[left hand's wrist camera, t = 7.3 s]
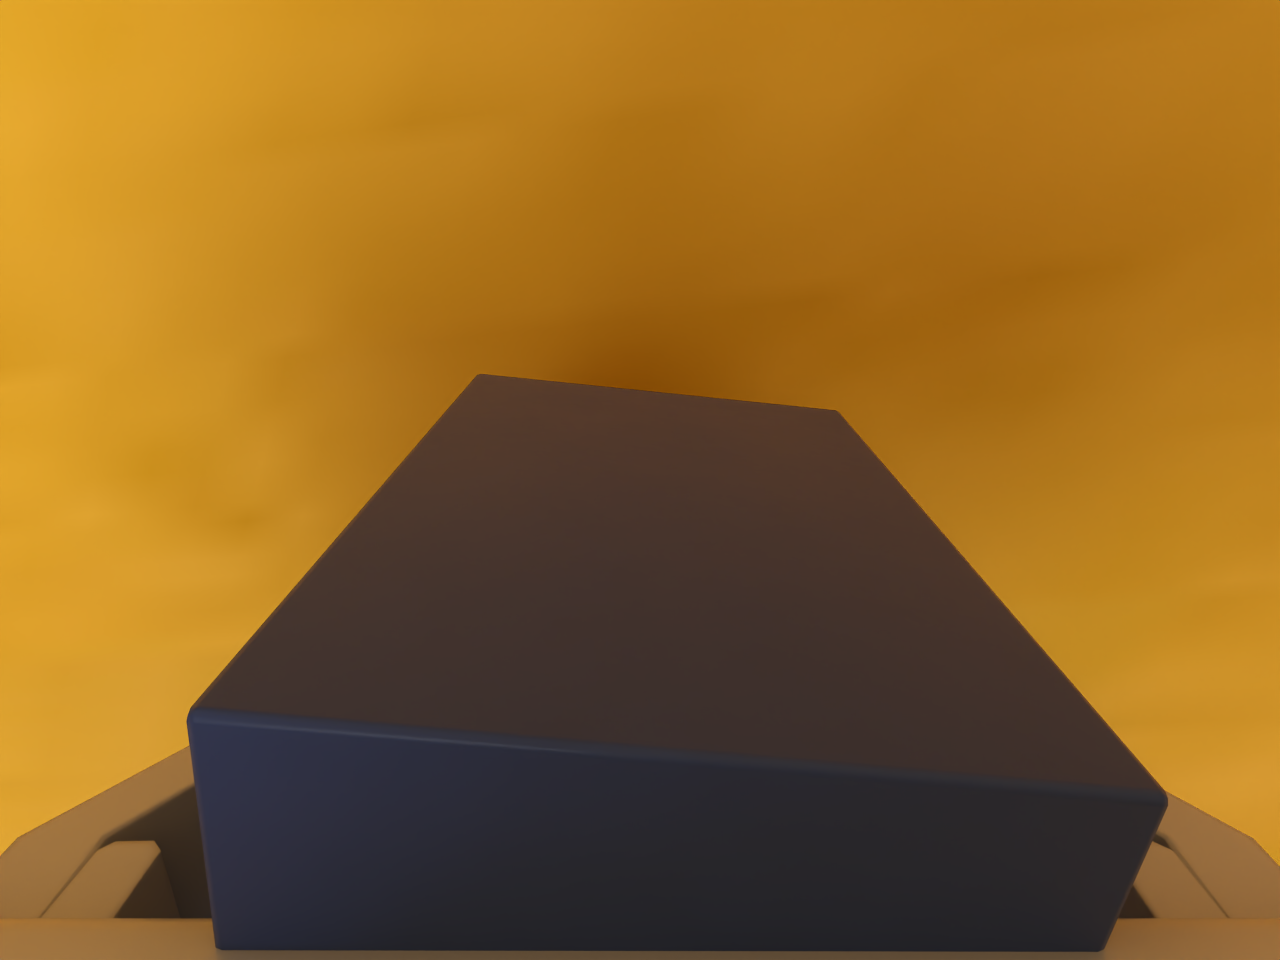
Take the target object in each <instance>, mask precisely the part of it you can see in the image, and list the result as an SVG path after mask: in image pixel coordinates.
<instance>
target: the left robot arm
mask: <svg viewBox="0 0 1280 960" xmlns="http://www.w3.org/2000/svg"><path fill="white" fill-rule="evenodd" d="M1164 791H1165V790H1164ZM1165 792H1166V791H1165ZM1166 794H1167V797H1168V807H1167V809H1166V812H1165V814H1164V816H1163V818H1162V821H1161V823H1160V825H1159V827H1158V829H1157V832H1156V834H1155V836H1154V838H1153V841H1152V843H1151V845H1150V847H1149V850H1148V852H1147V854H1146V856H1145V859H1144V861H1143V863H1142V865H1141V868H1140V870H1139V872H1138V874H1137V877H1136V879H1135V881H1134V883H1133V886H1132V888H1131V890H1130V892H1129V894H1128V897H1127V899H1126V901H1125V903H1124V906H1123V908H1122V910H1121V912H1120V915H1119V917H1118V919H1117V921H1116V924H1115V926H1114V928H1113V930H1112V933H1111V935H1110V937H1109V939H1108V942H1107V944H1106V946H1105V948H1104V949H1103V950H1101V951H1099V952H898V951H351V950H220V949H218V948H216V947H215V939H214V931H213V924H212V916H211V908H210V900H209V892H208V885H207V877H206V869H205V861H204V853H203V846H202V838H201V830H200V822H199V814H198V807H197V799H196V791H195V783H194V775H193V767H192V760H191V752H190V746H188V747H186V748H184V749H182V750H180V751H178V752H177V753H175V754H173V755H171V756H169V757H167V758H165V759H164V760H162V761H160V762H158V763H156V764H154V765H152V766H150V767H149V768H147V769H145V770H143V771H141V772H139V773H137V774H136V775H134V776H132V777H130V778H128V779H126V780H124V781H122V782H121V783H119V784H117V785H115V786H113V787H111V788H109V789H108V790H106V791H104V792H102V793H100V794H98V795H96V796H95V797H93V798H91V799H89V800H87V801H85V802H83V803H81V804H80V805H78V806H76V807H74V808H72V809H70V810H68V811H67V812H65V813H63V814H61V815H59V816H57V817H55V818H53V819H52V820H50V821H48V822H46V823H44V824H42V825H40V826H39V827H37V828H35V829H33V830H31V831H29V832H27V833H25V834H24V835H22V836H20V837H18V838H17V839H16V840H15V841H14V842H13V843H12V844H11V845H10V846H9V847H8V848H7V849H6V851H5V852H4V853H3V854H2V855H1V856H0V960H1280V867H1279V866H1278V864H1277V863H1276V862H1275V861H1274V860H1273V859H1272V858H1271V857H1270V856H1269V855H1268V854H1267V853H1266V852H1265V850H1264V849H1263V848H1262V847H1261V846H1260V845H1259V844H1258V843H1257V842H1256V841H1255V840H1254V839H1253V838H1251V837H1249V836H1247V835H1246V834H1244V833H1242V832H1240V831H1238V830H1236V829H1235V828H1233V827H1231V826H1229V825H1227V824H1225V823H1224V822H1222V821H1220V820H1218V819H1216V818H1214V817H1212V816H1211V815H1209V814H1207V813H1205V812H1203V811H1201V810H1200V809H1198V808H1196V807H1194V806H1192V805H1190V804H1189V803H1187V802H1185V801H1183V800H1181V799H1179V798H1177V797H1176V796H1174V795H1172V794H1170V793H1168V792H1166Z"/></svg>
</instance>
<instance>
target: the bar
mask: <svg viewBox="0 0 1280 960" xmlns="http://www.w3.org/2000/svg"><path fill="white" fill-rule="evenodd" d="M187 728H188V736H189V744H190V752H191V760H192V767H193V775H194V783H195V791H196V799H197V807H198V814H199V822H200V830H201V838H202V846H203V853H204V861H205V869H206V877H207V885H208V892H209V900H210V908H211V916H212V924H213V931H214V939H215V947H216V948H218V949H220V950H351V951H898V952H1099V951H1101V950H1103V949H1104V948H1105V946H1106V944H1107V942H1108V939H1109V937H1110V935H1111V933H1112V930H1113V928H1114V926H1115V924H1116V921H1117V919H1118V917H1119V915H1120V912H1121V910H1122V908H1123V906H1124V903H1125V901H1126V899H1127V897H1128V894H1129V892H1130V890H1131V888H1132V886H1133V883H1134V881H1135V879H1136V877H1137V874H1138V872H1139V870H1140V868H1141V865H1142V863H1143V861H1144V859H1145V856H1146V854H1147V852H1148V850H1149V847H1150V845H1151V843H1152V841H1153V838H1154V836H1155V834H1156V832H1157V829H1158V827H1159V825H1160V823H1161V821H1162V818H1163V816H1164V814H1165V812H1166V809H1167V807H1168V797H1167V794H1166V792H1165V791H1164V789H1163V788H1162V787H1161V786H1160V785H1159V784H1158V782H1157V781H1156V780H1155V779H1154V778H1153V777H1152V776H1151V774H1150V773H1149V772H1148V771H1147V770H1146V769H1145V767H1144V766H1143V765H1142V764H1141V763H1140V762H1139V760H1138V759H1137V758H1136V757H1135V756H1134V755H1133V753H1132V752H1131V751H1130V750H1129V749H1128V748H1127V746H1126V745H1125V744H1124V743H1123V742H1122V741H1121V740H1120V738H1119V737H1118V736H1117V735H1116V734H1115V733H1114V731H1113V730H1112V729H1111V728H1110V727H1109V726H1108V724H1107V723H1106V722H1105V721H1104V720H1103V719H1102V717H1101V716H1100V715H1099V714H1098V713H1097V712H1096V710H1095V709H1094V708H1093V707H1092V706H1091V705H1090V704H1089V702H1088V701H1087V700H1086V699H1085V698H1084V697H1083V695H1082V694H1081V693H1080V692H1079V691H1078V690H1077V688H1076V687H1075V686H1074V685H1073V684H1072V683H1071V681H1070V680H1069V679H1068V678H1067V677H1066V676H1065V674H1064V673H1063V672H1062V671H1061V670H1060V669H1059V667H1058V666H1057V665H1056V664H1055V663H1054V662H1053V661H1052V659H1051V658H1050V657H1049V656H1048V655H1047V654H1046V652H1045V651H1044V650H1043V649H1042V648H1041V647H1040V645H1039V644H1038V643H1037V642H1036V641H1035V640H1034V638H1033V637H1032V636H1031V635H1030V634H1029V633H1028V631H1027V630H1026V629H1025V628H1024V627H1023V626H1022V625H1021V623H1020V622H1019V621H1018V620H1017V619H1016V618H1015V616H1014V615H1013V614H1012V613H1011V612H1010V611H1009V609H1008V608H1007V607H1006V606H1005V605H1004V604H1003V602H1002V601H1001V600H1000V599H999V598H998V597H997V595H996V594H995V593H994V592H993V591H992V590H991V589H990V587H989V586H988V585H987V584H986V583H985V582H984V580H983V579H982V578H981V577H980V576H979V575H978V573H977V572H976V571H975V570H974V569H973V568H972V566H971V565H970V564H969V563H968V562H967V561H966V559H965V558H964V557H963V556H962V555H961V554H960V552H959V551H958V550H957V549H956V548H955V547H954V546H953V544H952V543H951V542H950V541H949V540H948V539H947V537H946V536H945V535H944V534H943V533H942V532H941V530H940V529H939V528H938V527H937V526H936V525H935V523H934V522H933V521H932V520H931V519H930V518H929V516H928V515H927V514H926V513H925V512H924V511H923V510H922V508H921V507H920V506H919V505H918V504H917V503H916V501H915V500H914V499H913V498H912V497H911V496H910V494H909V493H908V492H907V491H906V490H905V489H904V487H903V486H902V485H901V484H900V483H899V482H898V480H897V479H896V478H895V477H894V476H893V475H892V474H891V472H890V471H889V470H888V469H887V468H886V467H885V465H884V464H883V463H882V462H881V461H880V460H879V458H878V457H877V456H876V455H875V454H874V453H873V451H872V450H871V449H870V448H869V447H868V446H867V444H866V443H865V442H864V441H863V440H862V439H861V437H860V436H859V435H858V434H857V433H856V432H855V431H854V429H853V428H852V427H851V426H850V425H849V424H848V422H847V421H846V420H845V419H844V418H843V417H842V415H841V414H840V413H839V412H837V411H836V410H826V409H817V408H807V407H797V406H787V405H778V404H768V403H758V402H748V401H739V400H729V399H719V398H709V397H700V396H690V395H680V394H670V393H661V392H651V391H641V390H632V389H622V388H612V387H602V386H593V385H583V384H573V383H563V382H554V381H544V380H534V379H524V378H515V377H505V376H495V375H486V374H479V375H477V376H476V377H475V378H474V379H473V380H472V382H471V383H470V384H469V385H468V386H467V387H466V388H465V390H464V391H463V392H462V393H461V394H460V395H459V397H458V398H457V399H456V400H455V401H454V402H453V404H452V405H451V406H450V407H449V408H448V409H447V411H446V412H445V413H444V414H443V415H442V416H441V418H440V419H439V420H438V421H437V422H436V423H435V425H434V426H433V427H432V428H431V429H430V430H429V431H428V433H427V434H426V435H425V436H424V437H423V438H422V440H421V441H420V442H419V443H418V444H417V445H416V447H415V448H414V449H413V450H412V451H411V452H410V454H409V455H408V456H407V457H406V458H405V459H404V461H403V462H402V463H401V464H400V465H399V466H398V467H397V469H396V470H395V471H394V472H393V473H392V474H391V476H390V477H389V478H388V479H387V480H386V481H385V483H384V484H383V485H382V486H381V487H380V488H379V490H378V491H377V492H376V493H375V494H374V495H373V497H372V498H371V499H370V500H369V501H368V502H367V503H366V505H365V506H364V507H363V508H362V509H361V510H360V512H359V513H358V514H357V515H356V516H355V517H354V519H353V520H352V521H351V522H350V523H349V524H348V526H347V527H346V528H345V529H344V530H343V531H342V533H341V534H340V535H339V536H338V537H337V538H336V539H335V541H334V542H333V543H332V544H331V545H330V546H329V548H328V549H327V550H326V551H325V552H324V553H323V555H322V556H321V557H320V558H319V559H318V560H317V562H316V563H315V564H314V565H313V566H312V567H311V569H310V570H309V571H308V572H307V573H306V574H305V576H304V577H303V578H302V579H301V580H300V581H299V582H298V584H297V585H296V586H295V587H294V588H293V589H292V591H291V592H290V593H289V594H288V595H287V596H286V598H285V599H284V600H283V601H282V602H281V603H280V605H279V606H278V607H277V608H276V609H275V610H274V612H273V613H272V614H271V615H270V616H269V617H268V618H267V620H266V621H265V622H264V623H263V624H262V625H261V627H260V628H259V629H258V630H257V631H256V632H255V634H254V635H253V636H252V637H251V638H250V639H249V641H248V642H247V643H246V644H245V645H244V646H243V648H242V649H241V650H240V651H239V652H238V653H237V654H236V656H235V657H234V658H233V659H232V660H231V661H230V663H229V664H228V665H227V666H226V667H225V668H224V670H223V671H222V672H221V673H220V674H219V675H218V677H217V678H216V679H215V680H214V681H213V682H212V684H211V685H210V686H209V687H208V688H207V689H206V690H205V692H204V693H203V694H202V695H201V696H200V697H199V699H198V700H197V701H196V702H195V703H194V704H193V706H192V707H191V708H190V711H189V713H188V717H187Z"/></svg>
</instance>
